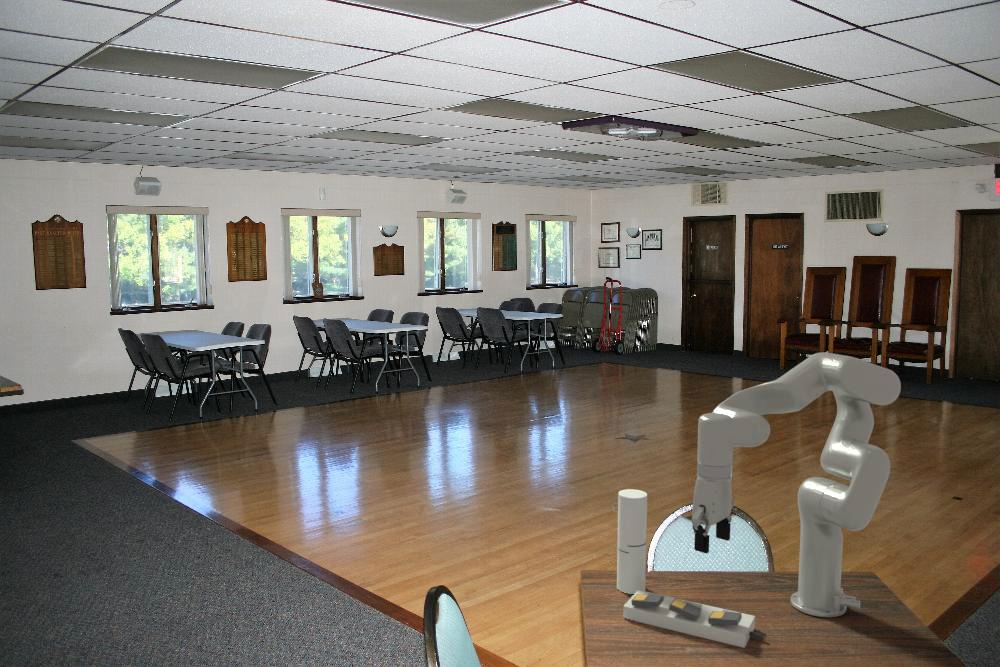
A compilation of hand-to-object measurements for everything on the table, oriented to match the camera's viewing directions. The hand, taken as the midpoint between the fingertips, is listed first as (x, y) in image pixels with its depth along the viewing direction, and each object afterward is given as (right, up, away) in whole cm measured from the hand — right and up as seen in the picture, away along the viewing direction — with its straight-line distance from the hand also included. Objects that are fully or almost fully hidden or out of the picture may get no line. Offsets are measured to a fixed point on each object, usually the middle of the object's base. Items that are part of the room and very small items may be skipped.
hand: (712, 545), depth 178 cm
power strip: (-2, -20, +7) cm, 22 cm away
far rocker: (-13, -16, +10) cm, 22 cm away
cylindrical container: (-14, -18, +27) cm, 35 cm away
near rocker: (+3, -17, +1) cm, 17 cm away
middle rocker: (-5, -16, +5) cm, 18 cm away
